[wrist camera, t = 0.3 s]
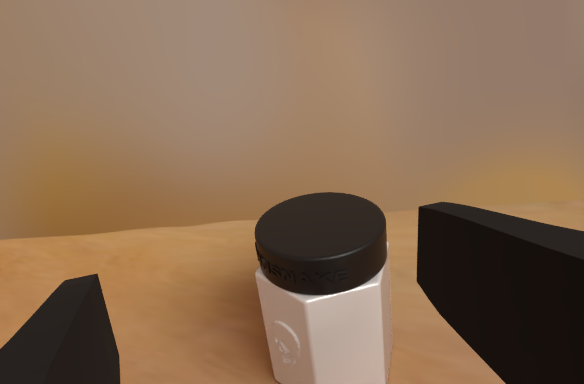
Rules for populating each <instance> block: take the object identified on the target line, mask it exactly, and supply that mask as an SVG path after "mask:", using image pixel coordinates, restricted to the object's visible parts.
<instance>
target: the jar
mask: <svg viewBox="0 0 584 384" xmlns="http://www.w3.org/2000/svg"><path fill="white" fill-rule="evenodd" d="M255 239H256V242H255V246H256V252H257V257H258V261H259V262H260V266H259V267H258V269H257V271H256V272H255V278H256V283H257V288H258V294H259V299H260V304H261V310H262V315H263V320H264V326H265V331H266V336H267V341H268V347H269V352H270V357H271V363H272V368H273V373H274V378H275V379H276V380H277V381H278V382H279V383H281V384H387V381H388V374H389V367H390V360H391V353H392V319H391V291H390V264H389V243H388V242H387V236H386V219H385V216H384V214H383V212H382V211H381V210H380V208H379V207H378V206H377V205H375V204H374V203H372V202H370V201H369V200H367V199H364V198H362V197H358V196H355V195H351V194H345V193H332V192H328V193H327V192H326V193H313V194H307V195H303V196H299V197H295V198H291V199H289V200H286V201H284V202H281V203H279V204H277V205H276V206H274V207H272V208H271V209H269V210H268V211H267V212H265V213H264V215H262V217H261V218H260V219H259V221H258V222H257V224H256V227H255Z"/></svg>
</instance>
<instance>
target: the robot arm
mask: <svg viewBox="0 0 584 384" xmlns="http://www.w3.org/2000/svg"><path fill="white" fill-rule="evenodd" d="M417 282H418V284H419V285H420V287H421V288H422V290H423V291H424V293H425V294H426V296H427V297H428V299H429V300H430V301H431V303H432V304H433V305H434V307H435V308H436V310H437V311H438V312H439V314H440V315H441V316H442V317H443V318H444V319H445V320H446V321H447V322H448V323H449V325H450V326H451V327H452V328H453V329H454V330H455V331H456V332H457V333H458V334H459V335H460V336H461V337H462V338H463V339H464V340H465V342H466V343H467V344H468V345H469V346H470V347H471V348H472V349H473V350H474V351H475V352H476V353H477V354H478V355H479V356H480V357H481V358H482V359H483V360H484V361H485V362H486V363H487V364H488V365H489V367H490V368H491V369H492V370H493V371H494V372H495V373H496V374H497V375H498V376H499V377H500V378H501V379H502V380H503V381H504V382H505V383H506V384H584V231H579V230H574V229H569V228H564V227H559V226H554V225H549V224H545V223H540V222H536V221H531V220H527V219H523V218H519V217H514V216H510V215H506V214H502V213H498V212H493V211H489V210H485V209H481V208H476V207H471V206H466V205H461V204H455V203H447V202H439V203H434V204H429V205H425V206H420V207H419V215H418V252H417ZM0 384H120V364H119V353H118V349H117V346H116V342H115V338H114V334H113V331H112V327H111V323H110V319H109V316H108V312H107V308H106V304H105V301H104V297H103V293H102V289H101V285H100V282H99V278H98V274H93V275H88V276H84V277H79V278H74V279H69V280H65V281H64V282H63V283H62V284H61V285H60V286H59V287H58V288H57V289H56V290H55V291H54V292H53V293H52V294H51V295H50V296H49V298H48V299H47V300H46V301H45V302H44V303H43V304H42V305H41V306H40V308H39V309H38V310H37V311H36V312H35V313H34V314H33V315H32V316H31V317H30V319H29V320H28V321H27V322H26V323H25V324H24V325H23V326H22V327H21V328H20V329H19V330H18V331H17V333H16V334H15V335H14V336H13V337H12V338H11V339H10V340H9V341H8V342H7V343H6V344H5V345H4V346H3V347H2V348H1V349H0Z"/></svg>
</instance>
